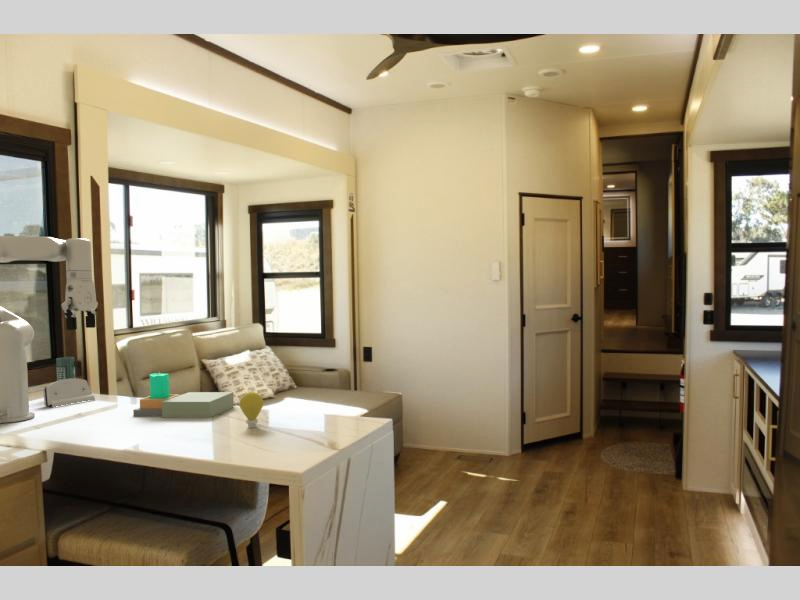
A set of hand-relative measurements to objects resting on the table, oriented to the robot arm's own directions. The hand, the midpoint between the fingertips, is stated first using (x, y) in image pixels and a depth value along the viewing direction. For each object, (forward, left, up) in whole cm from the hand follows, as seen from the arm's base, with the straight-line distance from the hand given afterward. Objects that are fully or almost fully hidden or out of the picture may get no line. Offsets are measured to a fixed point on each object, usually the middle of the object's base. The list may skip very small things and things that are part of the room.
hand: (81, 328), depth 215 cm
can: (+34, +31, -28) cm, 54 cm away
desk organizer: (+5, -32, -28) cm, 43 cm away
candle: (+5, -24, -26) cm, 36 cm away
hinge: (+21, +21, -29) cm, 41 cm away
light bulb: (-16, -64, -28) cm, 72 cm away
